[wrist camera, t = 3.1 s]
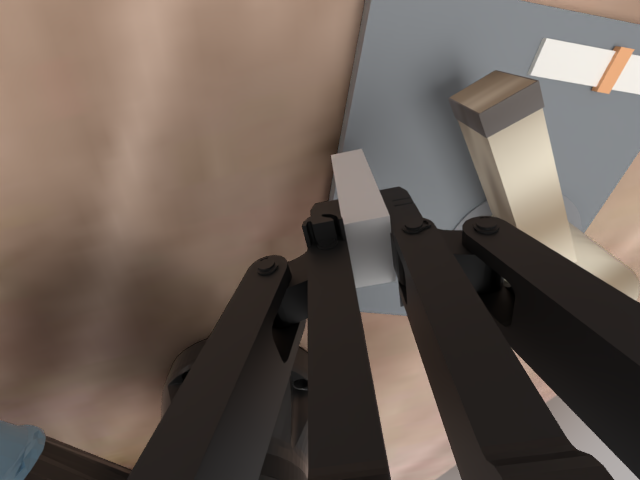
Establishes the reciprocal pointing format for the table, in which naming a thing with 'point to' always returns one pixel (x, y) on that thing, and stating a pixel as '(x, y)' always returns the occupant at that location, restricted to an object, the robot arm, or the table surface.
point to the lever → (527, 171)
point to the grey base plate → (463, 70)
